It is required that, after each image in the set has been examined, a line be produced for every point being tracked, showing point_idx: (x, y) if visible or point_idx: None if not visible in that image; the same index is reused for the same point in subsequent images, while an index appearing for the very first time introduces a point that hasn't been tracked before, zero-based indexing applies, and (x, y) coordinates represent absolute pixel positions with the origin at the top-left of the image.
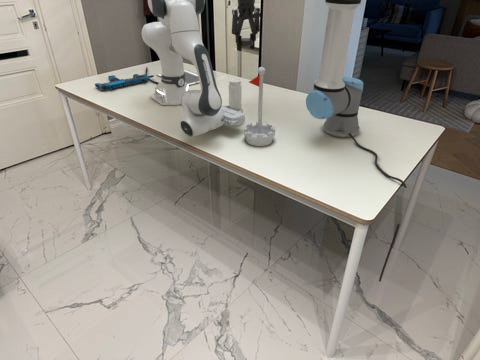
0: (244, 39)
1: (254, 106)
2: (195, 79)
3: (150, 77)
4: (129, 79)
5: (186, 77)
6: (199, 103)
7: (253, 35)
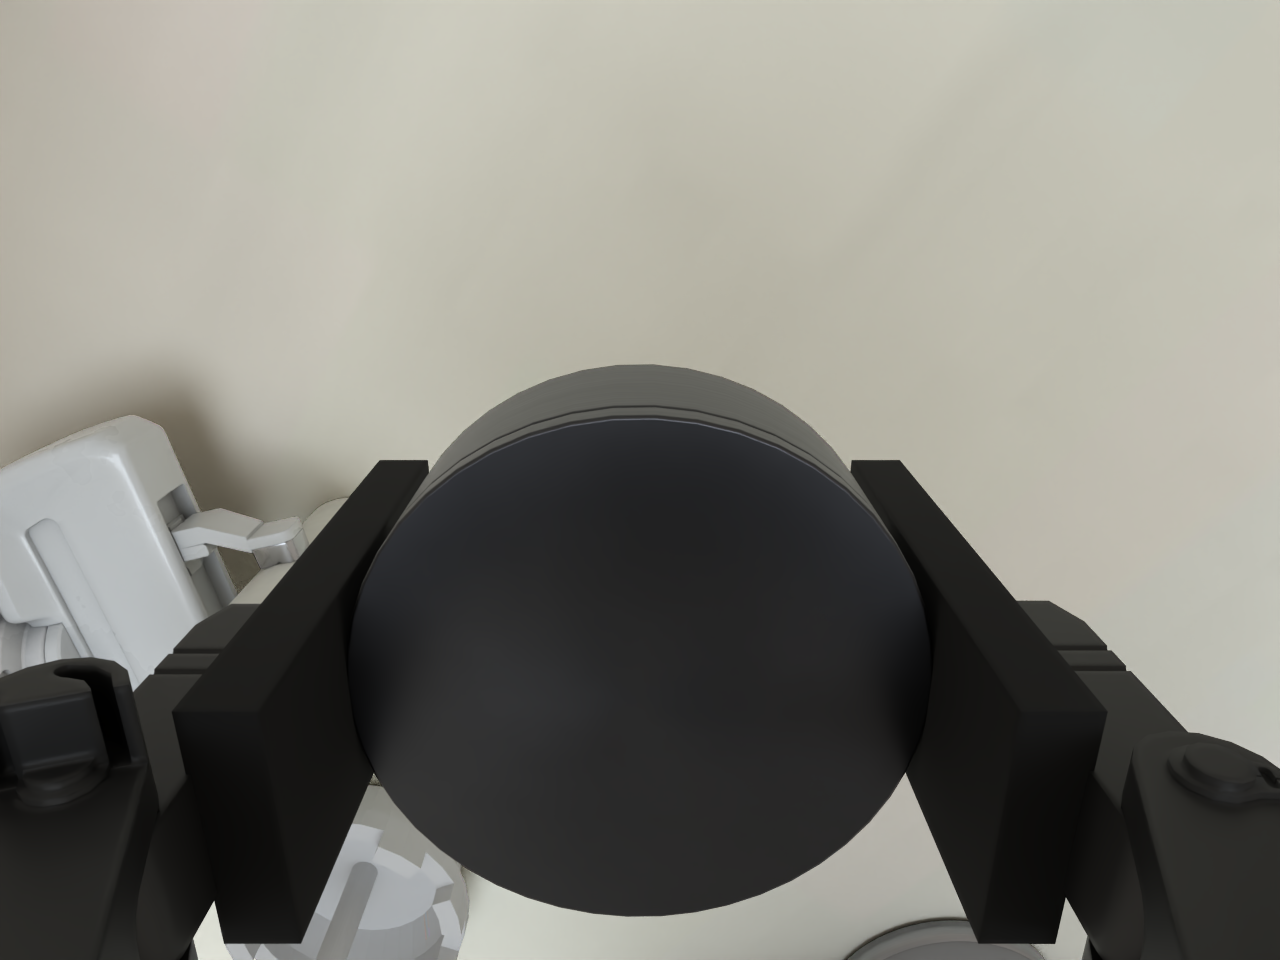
0: (596, 669)
1: (747, 307)
2: None
3: None
4: None
5: None
6: None
7: (963, 899)
